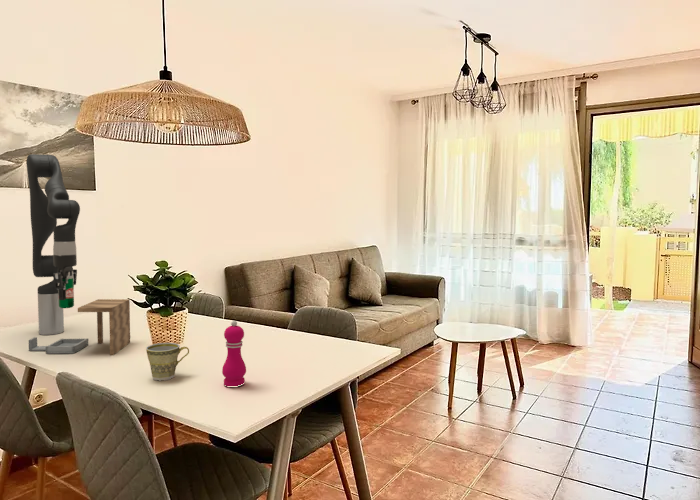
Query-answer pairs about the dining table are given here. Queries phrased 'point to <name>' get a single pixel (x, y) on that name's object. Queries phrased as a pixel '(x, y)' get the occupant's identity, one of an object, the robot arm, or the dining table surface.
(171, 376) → the ceramic cup
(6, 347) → the dining table surface
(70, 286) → the soda can
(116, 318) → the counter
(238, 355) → the pepper mill
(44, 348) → the tray
